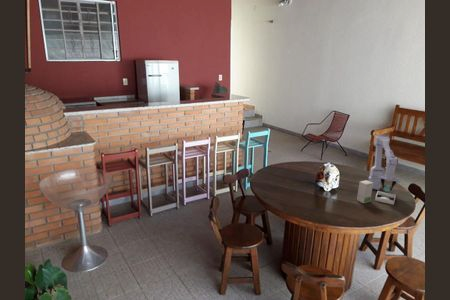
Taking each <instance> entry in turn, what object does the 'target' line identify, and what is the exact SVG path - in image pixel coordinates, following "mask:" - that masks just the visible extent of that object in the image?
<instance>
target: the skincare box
mask: <svg viewBox="0 0 450 300" xmlns="http://www.w3.org/2000/svg"><path fill="white" fill-rule="evenodd" d="M372 187H373V182H370V181H368V179H366V180H361V181H359V184H358V191H357V196H356V201H357V202H358V203H362V204H367V203H369V202H371V199H372V192H373V189H372Z"/></svg>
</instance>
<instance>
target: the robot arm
mask: <svg viewBox="0 0 450 300" xmlns="http://www.w3.org/2000/svg"><path fill="white" fill-rule="evenodd" d="M373 140H374V145H373V146H374V147H375V153H374V165H373V166H372V167H371V168H370V171H369V176H368V179H367V181H370V182H373V187H372V190H377V191H380V190H381V189H382V190H384V186H385V183H386V181H388V182H391V185H390V187H391V190H390V191H393V188H394V186H396V185H397V183H398V184H399V183H400V181H401V179H399V178H394V177H395V171H396V167H397V165H399V159H398V157H397V156H395V154H394V152H393V151H394V150H392V149H391V147H390V140H391V139H390V136H377V135H376V136H375V137H374V139H373ZM383 150H384V156H385V159H386V160H385V163H386V169H384V167H382V158H383ZM381 186H382V187H381Z"/></svg>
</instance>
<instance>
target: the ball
mask: <svg viewBox="0 0 450 300" xmlns="http://www.w3.org/2000/svg"><path fill="white" fill-rule="evenodd" d="M383 191H384V192H385V193H389V192H390V191H391V185H389V184H386V185H385V184H384V188H383Z"/></svg>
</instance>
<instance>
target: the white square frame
mask: <svg viewBox="0 0 450 300" xmlns="http://www.w3.org/2000/svg"><path fill="white" fill-rule="evenodd" d="M378 196H381V197H387V198H391V199H390V200H388V199H384V198H380V197H378ZM374 197H375V198H374V201H375V202H380V203H383V204H384V203H385V204H389V205H393V206H394V205H395V200H396V194H394V193H389V192H386V191H382V190H381V191H380V190H377V192H376V195H375V196H374ZM392 199H393V200H392Z"/></svg>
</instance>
